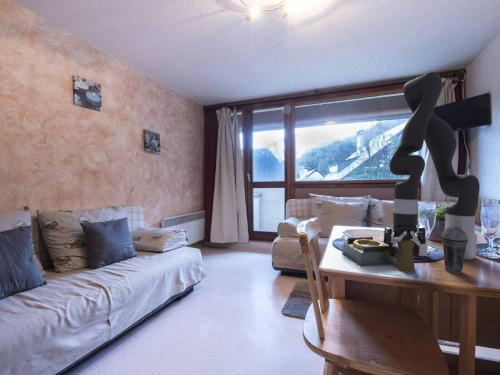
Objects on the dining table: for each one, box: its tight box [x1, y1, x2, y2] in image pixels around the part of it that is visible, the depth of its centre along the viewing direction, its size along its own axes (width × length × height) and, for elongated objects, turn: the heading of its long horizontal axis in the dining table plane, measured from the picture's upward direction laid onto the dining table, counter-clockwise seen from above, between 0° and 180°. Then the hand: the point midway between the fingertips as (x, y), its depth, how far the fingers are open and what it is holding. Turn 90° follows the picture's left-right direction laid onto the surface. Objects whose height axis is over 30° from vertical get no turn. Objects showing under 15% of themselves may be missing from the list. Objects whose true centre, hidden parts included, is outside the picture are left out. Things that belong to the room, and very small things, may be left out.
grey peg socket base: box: [341, 236, 397, 267], centre depth 101 cm, size 15×15×7 cm
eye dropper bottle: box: [415, 232, 429, 257], centre depth 103 cm, size 4×6×12 cm
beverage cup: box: [440, 215, 468, 275], centre depth 86 cm, size 7×7×20 cm
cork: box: [395, 239, 416, 273], centre depth 89 cm, size 6×6×11 cm
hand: (403, 255), depth 89 cm, fingers open, 8 cm apart
